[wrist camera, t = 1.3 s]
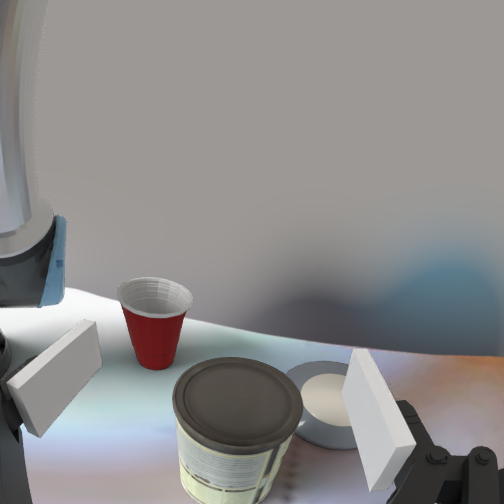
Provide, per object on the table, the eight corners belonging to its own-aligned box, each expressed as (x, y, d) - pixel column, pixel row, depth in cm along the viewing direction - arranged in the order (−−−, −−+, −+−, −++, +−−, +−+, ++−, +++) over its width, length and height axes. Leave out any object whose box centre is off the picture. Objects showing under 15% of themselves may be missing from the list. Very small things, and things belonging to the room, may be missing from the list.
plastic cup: (191, 384, 40) (193, 315, 36) (118, 378, 38) (108, 308, 34) (191, 340, 50) (194, 277, 46) (129, 336, 48) (125, 272, 44)
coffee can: (181, 438, 30) (178, 351, 26) (266, 441, 32) (290, 357, 27) (176, 510, 21) (165, 443, 16) (278, 511, 22) (317, 444, 18)
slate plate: (264, 437, 32) (266, 433, 32) (284, 356, 49) (286, 352, 49) (397, 453, 29) (401, 449, 29) (384, 373, 46) (386, 368, 46)
